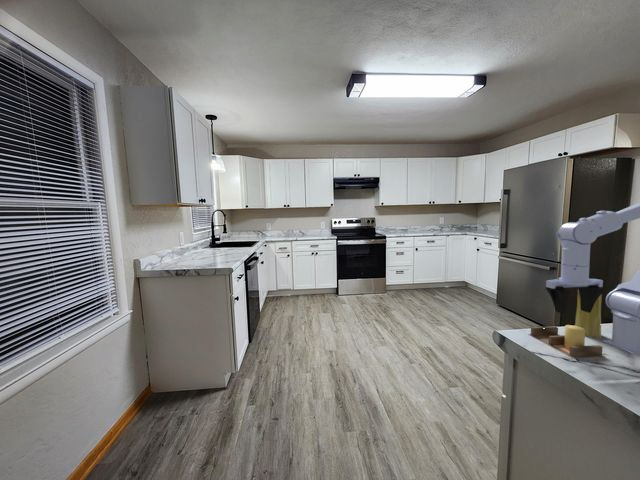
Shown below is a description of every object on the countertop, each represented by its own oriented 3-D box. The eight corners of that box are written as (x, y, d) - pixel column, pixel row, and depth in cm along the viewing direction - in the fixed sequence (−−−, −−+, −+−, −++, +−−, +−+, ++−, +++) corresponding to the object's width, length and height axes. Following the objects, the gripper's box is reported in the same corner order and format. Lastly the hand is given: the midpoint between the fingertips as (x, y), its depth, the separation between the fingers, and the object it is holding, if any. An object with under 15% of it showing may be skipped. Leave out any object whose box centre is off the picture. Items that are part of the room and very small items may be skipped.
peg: (574, 345, 76) (575, 325, 75) (588, 352, 72) (589, 330, 71) (560, 345, 76) (561, 325, 75) (573, 352, 72) (574, 330, 71)
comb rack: (555, 334, 84) (555, 325, 84) (605, 358, 70) (606, 347, 69) (527, 335, 84) (528, 326, 84) (572, 359, 69) (572, 348, 69)
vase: (607, 339, 80) (609, 293, 79) (583, 338, 81) (585, 292, 80) (591, 331, 86) (593, 288, 85) (569, 330, 87) (570, 287, 86)
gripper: (585, 261, 79) (583, 306, 80) (537, 263, 78) (536, 308, 79) (612, 266, 72) (609, 314, 73) (559, 267, 71) (557, 316, 72)
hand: (572, 311), depth 75 cm, fingers open, 7 cm apart
